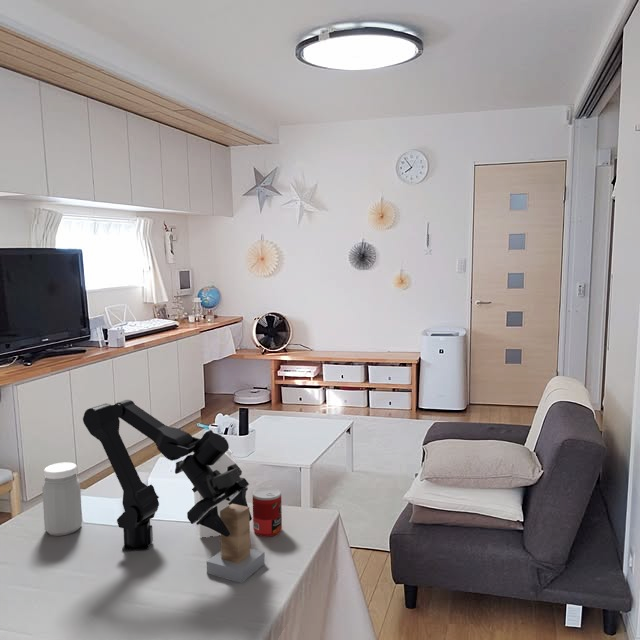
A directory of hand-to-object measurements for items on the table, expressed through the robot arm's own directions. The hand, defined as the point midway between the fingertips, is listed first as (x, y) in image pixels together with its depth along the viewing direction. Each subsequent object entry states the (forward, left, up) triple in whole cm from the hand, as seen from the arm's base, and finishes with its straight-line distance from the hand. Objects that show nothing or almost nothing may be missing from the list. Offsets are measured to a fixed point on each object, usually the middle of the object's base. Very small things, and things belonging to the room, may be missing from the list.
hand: (240, 527), depth 146 cm
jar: (-51, +26, -11) cm, 58 cm away
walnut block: (-1, +1, -8) cm, 8 cm away
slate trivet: (-1, +1, -11) cm, 11 cm away
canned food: (+6, +21, -11) cm, 24 cm away
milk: (-8, +25, -11) cm, 28 cm away
